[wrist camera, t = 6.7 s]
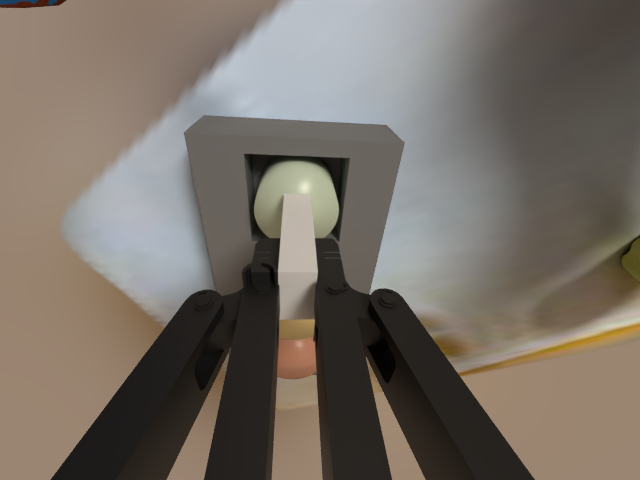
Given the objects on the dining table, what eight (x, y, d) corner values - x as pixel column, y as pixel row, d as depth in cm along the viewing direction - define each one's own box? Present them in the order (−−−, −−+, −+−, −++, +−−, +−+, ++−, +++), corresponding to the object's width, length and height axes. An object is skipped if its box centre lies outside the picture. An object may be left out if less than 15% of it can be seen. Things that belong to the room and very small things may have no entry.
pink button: (268, 312, 28) (264, 349, 24) (319, 311, 28) (322, 347, 25) (270, 343, 30) (267, 379, 27) (316, 342, 31) (319, 378, 28)
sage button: (258, 147, 18) (250, 170, 15) (335, 150, 19) (343, 174, 16) (262, 214, 21) (256, 246, 18) (328, 215, 22) (334, 247, 18)
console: (204, 115, 18) (183, 132, 15) (386, 125, 19) (404, 143, 16) (240, 342, 32) (233, 377, 29) (345, 340, 33) (350, 373, 30)
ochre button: (263, 256, 22) (257, 294, 19) (327, 256, 22) (332, 294, 19) (265, 300, 25) (261, 340, 22) (322, 300, 25) (326, 339, 22)
